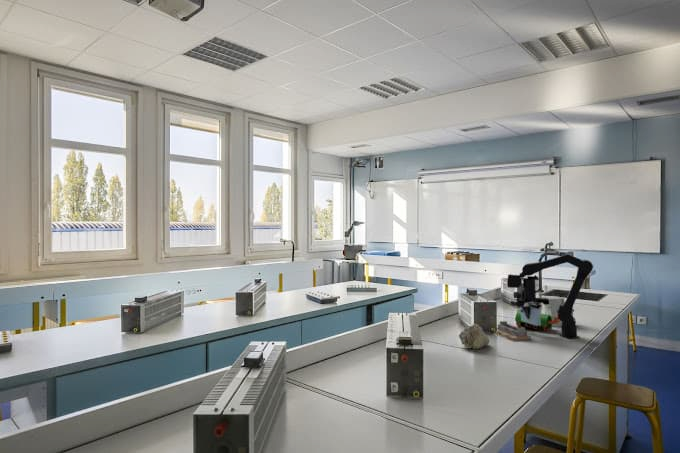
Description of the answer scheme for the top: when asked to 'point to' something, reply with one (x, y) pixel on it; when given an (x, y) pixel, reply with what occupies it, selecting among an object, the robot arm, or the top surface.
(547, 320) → the motor
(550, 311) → the circuit breaker
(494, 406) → the top surface
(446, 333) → the top surface
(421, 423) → the top surface
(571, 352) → the top surface
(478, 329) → the lumpy boulder
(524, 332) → the cabinet base
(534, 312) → the cabinet door
